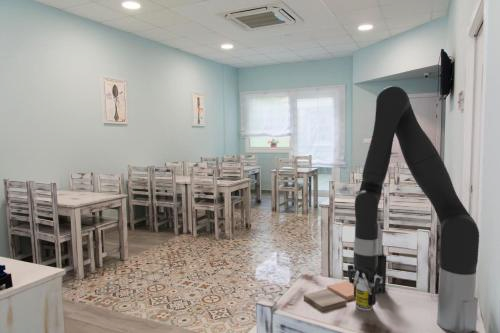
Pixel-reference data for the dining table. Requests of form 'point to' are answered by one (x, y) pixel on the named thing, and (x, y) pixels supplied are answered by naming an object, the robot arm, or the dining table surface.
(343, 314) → the dining table surface
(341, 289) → the terracotta tile
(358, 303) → the supplement bottle
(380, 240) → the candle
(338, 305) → the walnut mat
